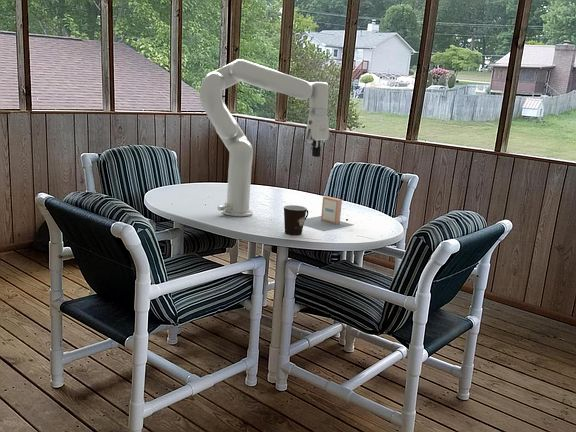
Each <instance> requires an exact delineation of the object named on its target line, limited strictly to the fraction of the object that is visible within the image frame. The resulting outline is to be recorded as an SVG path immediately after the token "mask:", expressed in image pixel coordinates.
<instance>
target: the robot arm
mask: <svg viewBox="0 0 576 432" xmlns="http://www.w3.org/2000/svg"><path fill="white" fill-rule="evenodd" d="M240 82H242V83H245V84H248V85H251V86H254V87H256V88H260V89H263V90H266V91H270V92H276V93H280V94H283V95H287V96H289V97H292V98H295V100H296V99H297V100H301V101H306V100H308V99H309V109H308V110H309V111H308V117H307V124H306V133H305V134H306V139H307V143H309V144H310V145H311V147H312V151H311V152H312V153H311V155H312V157H313V158H314V157H315V158H320V157H321V148H322V146H323V143H325V142H326V141H327V140H329V137H330V121H329V116H328V106H329V105H328V104H329V84H328V82H324V81H313V82H309V81H307V80H304V79H301V78H298V77H296V76H293V75H290V74H287V73H283V72H280V71H278V70H276V69H273V68H270V67H268V66H264V65H261V64H258V63H254V62H251V61H249V60H245V59H241V58H238V59H234V60H233V61H232V62H230V63H228V64H226V65H224V66H221V67H220V68H218V69H214V70H213V71H211V72H208V73H207V74H206V75H205V77H204V79H203V80H202V82H201V86H200V88H199V99H200V104H201V107H202V109H203V110H204V112H205V113H206V115H207V117H208V119H209V121H210V123H211V124H212V125H213V127H214V129H215V132H216V133H217V135H218V137H219V138H220V140H221V141H222V142H223V144H224V146H225V147H226V149H227V151H228V152H229V156H228V158H229V159H228V171H227V173H228V174H227V192H226V193H227V194H226V202H224V205H218V206H217V210H218V211H219V212H220V211H221V212H222V214H223V215H227V216H231V217H249V216H252V215H253V211H252V210H251V209H250V199H251V198H250V197H251V183H252V182H251V181H252V180H251V179H252V166H253V160H254V159H253V157H254V149H253V148H254V147H253V146H252V143H251V141H249V139H248V138H247V136H246V135H245V133H244V131H243V130H242V128H241V127H240V125H239V123H238V121H237V120H236V118H235V117H234V116H233V115H232V113H231V111H230V109H229V108H228V107H227V105H226V103H225V101H224V100H223V98H222V91H223V90H226V89H229V88H230V87H232V86H234V85H236V84H238V83H240Z"/></svg>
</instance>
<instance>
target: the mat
mask: <svg viewBox="0 0 576 432" xmlns="http://www.w3.org/2000/svg"><path fill="white" fill-rule="evenodd" d="M352 226H354V224H353V223H349V222H346V221H341V220H340V223H339V224H333V223H330V222H326V221H323V220H321V215H319V216H312V217H307V218H306V220H305V221H304V225H303V227H308V228H310V229H313V230H314V229H315V230H317V231H320V232H327V231H328V232H329V231H333V230H337V229H343V228H347V227H352Z"/></svg>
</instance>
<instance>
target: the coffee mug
mask: <svg viewBox="0 0 576 432" xmlns="http://www.w3.org/2000/svg"><path fill="white" fill-rule="evenodd" d="M308 216H309V210H308V208H307V207H305V206H302V205H296V204H295V205H293V204H291V205H289V204H287V205H284V206H283V217H284V218H283V220H284V221H283V222H284V234H285V235H287V236H291V237H292V236H294V237H297V236H298V237H299V236H302V234H303V229H304V221H305V220H306V219H307V218H308Z"/></svg>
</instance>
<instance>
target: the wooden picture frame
mask: <svg viewBox="0 0 576 432" xmlns="http://www.w3.org/2000/svg"><path fill="white" fill-rule="evenodd" d="M342 202H343V199H342V198H341V199H340V198H336V197H332V196H328V195H327V196H322V204H321V205H322V206H321V215H320V216H321V220H323V221H326V222H330V223H333V224H339V223H340V221H341V214H342Z"/></svg>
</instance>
